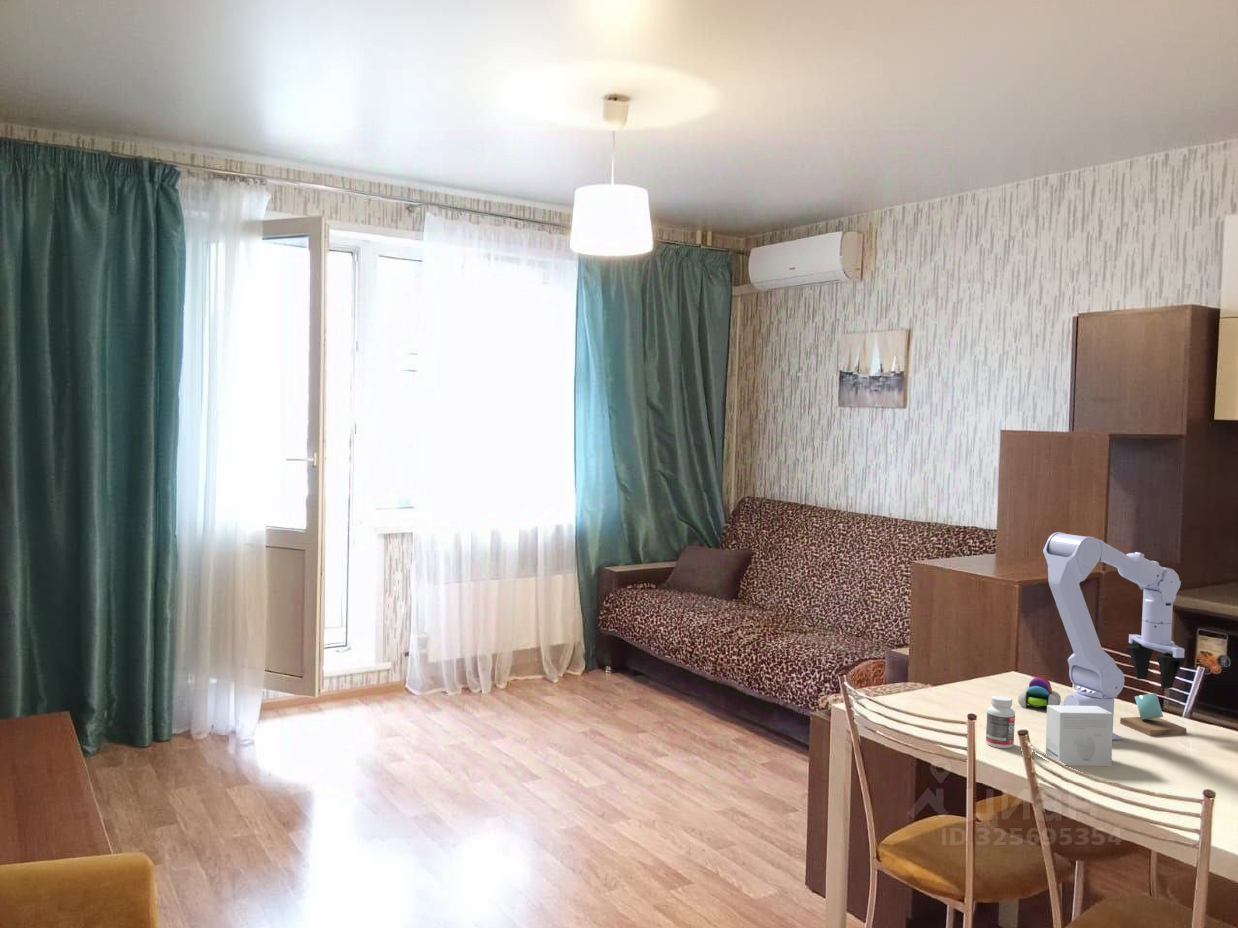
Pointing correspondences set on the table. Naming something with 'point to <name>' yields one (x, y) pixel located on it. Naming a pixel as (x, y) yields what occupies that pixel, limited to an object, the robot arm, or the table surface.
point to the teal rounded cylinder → (1148, 706)
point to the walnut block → (1153, 726)
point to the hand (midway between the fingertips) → (1153, 683)
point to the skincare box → (1079, 735)
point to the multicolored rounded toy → (1039, 693)
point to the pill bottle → (1000, 723)
